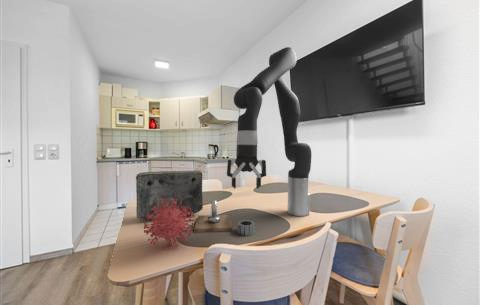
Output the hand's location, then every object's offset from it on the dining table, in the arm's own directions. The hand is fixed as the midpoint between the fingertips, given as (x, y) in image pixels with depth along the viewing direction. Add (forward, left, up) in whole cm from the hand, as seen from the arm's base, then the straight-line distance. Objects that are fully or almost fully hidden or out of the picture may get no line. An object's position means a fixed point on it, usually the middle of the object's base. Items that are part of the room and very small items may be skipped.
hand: (246, 188), depth 74 cm
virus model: (+25, +9, -17) cm, 31 cm away
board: (+12, -8, -16) cm, 22 cm away
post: (+12, -8, -15) cm, 21 cm away
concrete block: (+31, -17, -17) cm, 39 cm away
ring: (0, 0, -16) cm, 16 cm away
